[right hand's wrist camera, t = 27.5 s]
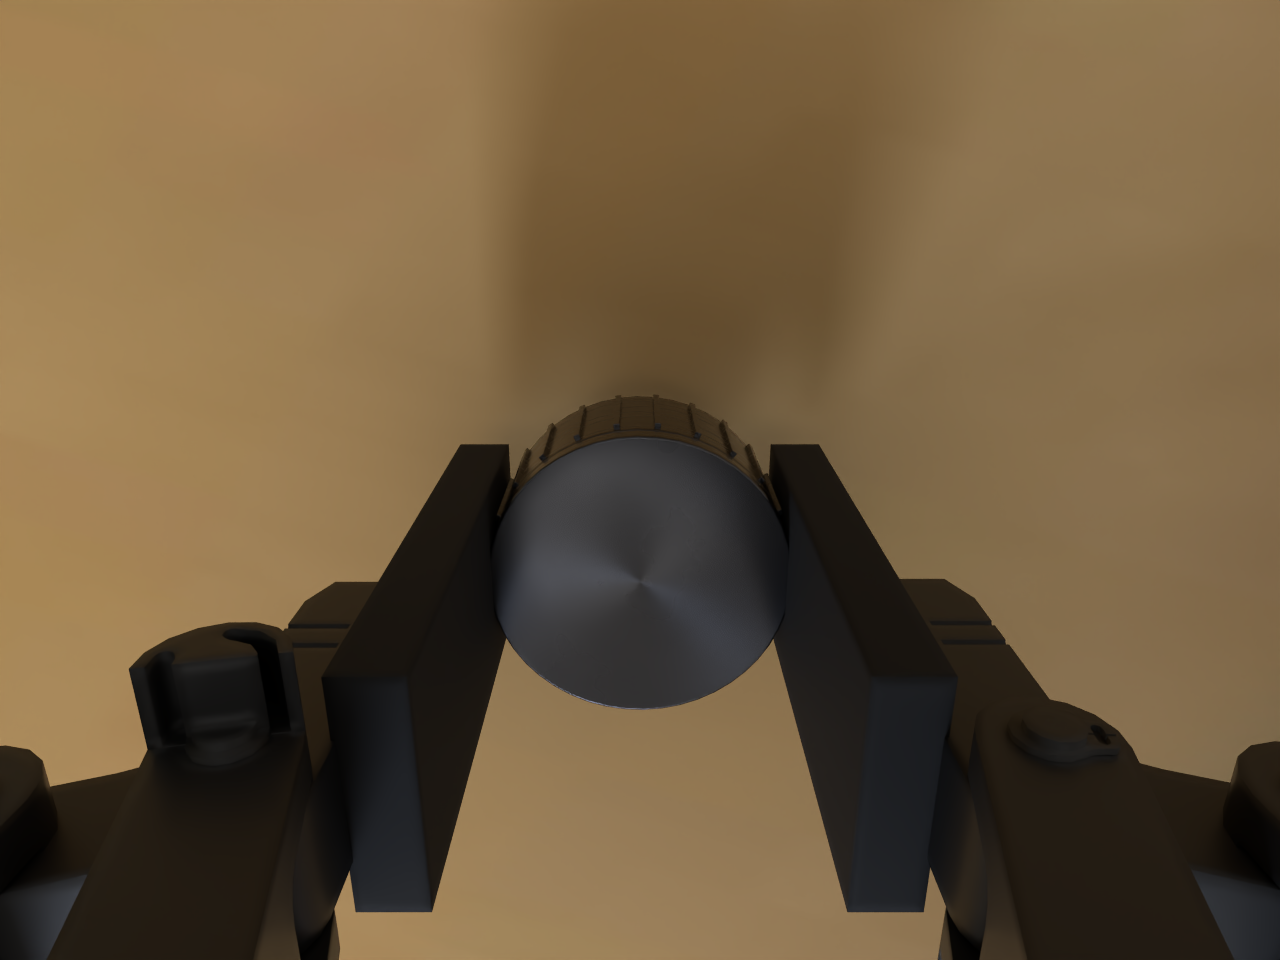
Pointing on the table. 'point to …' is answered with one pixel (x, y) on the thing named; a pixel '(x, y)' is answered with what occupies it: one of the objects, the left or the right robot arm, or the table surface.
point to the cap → (639, 555)
